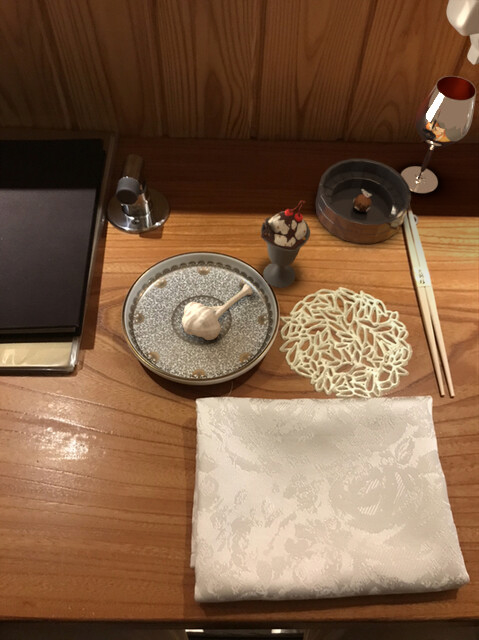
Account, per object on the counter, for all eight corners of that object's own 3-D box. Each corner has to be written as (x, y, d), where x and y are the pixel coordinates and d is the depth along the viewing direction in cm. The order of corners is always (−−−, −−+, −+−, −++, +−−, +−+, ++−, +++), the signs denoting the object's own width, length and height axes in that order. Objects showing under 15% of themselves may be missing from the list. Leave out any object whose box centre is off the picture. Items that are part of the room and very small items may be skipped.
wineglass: (443, 201, 94) (486, 109, 79) (394, 194, 94) (428, 102, 79) (441, 167, 98) (482, 74, 83) (394, 161, 99) (426, 67, 83)
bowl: (377, 173, 97) (385, 151, 93) (417, 234, 90) (427, 212, 86) (301, 191, 94) (305, 168, 90) (336, 255, 87) (342, 233, 83)
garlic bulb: (264, 286, 79) (200, 329, 73) (264, 311, 82) (203, 355, 76) (230, 266, 82) (166, 305, 76) (231, 291, 86) (170, 330, 80)
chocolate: (347, 208, 92) (352, 190, 88) (355, 201, 92) (361, 183, 89) (362, 218, 90) (367, 200, 87) (370, 211, 91) (376, 193, 88)
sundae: (308, 269, 85) (324, 198, 73) (288, 300, 82) (300, 232, 70) (270, 251, 87) (279, 179, 74) (249, 281, 84) (254, 211, 71)
